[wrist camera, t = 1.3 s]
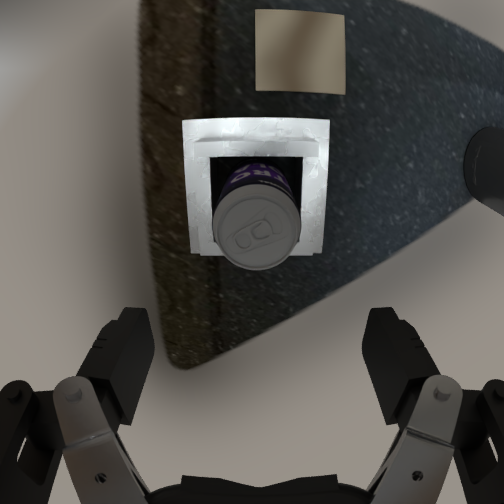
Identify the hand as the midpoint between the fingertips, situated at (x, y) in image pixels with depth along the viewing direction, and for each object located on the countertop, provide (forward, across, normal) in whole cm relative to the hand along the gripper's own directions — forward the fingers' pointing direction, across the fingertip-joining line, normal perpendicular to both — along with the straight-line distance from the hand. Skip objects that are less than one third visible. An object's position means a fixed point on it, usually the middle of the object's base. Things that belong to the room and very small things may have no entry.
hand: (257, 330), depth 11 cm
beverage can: (+21, 0, 0) cm, 21 cm away
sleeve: (+21, 0, 0) cm, 21 cm away
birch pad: (+21, -4, -13) cm, 25 cm away
